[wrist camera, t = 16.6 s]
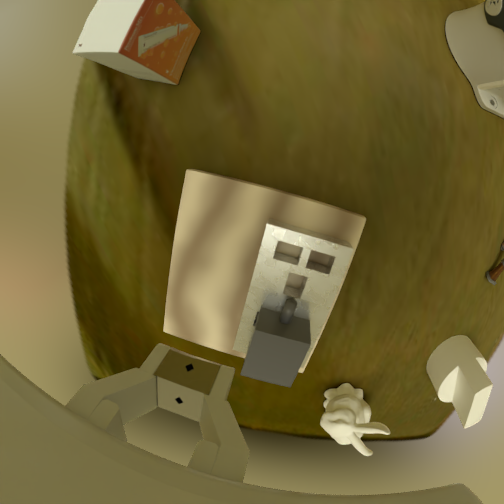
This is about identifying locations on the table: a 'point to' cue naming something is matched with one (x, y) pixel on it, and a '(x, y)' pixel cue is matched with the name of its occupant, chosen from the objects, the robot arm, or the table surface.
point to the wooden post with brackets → (496, 270)
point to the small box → (139, 38)
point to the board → (236, 252)
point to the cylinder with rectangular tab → (460, 378)
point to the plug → (277, 345)
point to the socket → (279, 265)
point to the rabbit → (349, 417)
